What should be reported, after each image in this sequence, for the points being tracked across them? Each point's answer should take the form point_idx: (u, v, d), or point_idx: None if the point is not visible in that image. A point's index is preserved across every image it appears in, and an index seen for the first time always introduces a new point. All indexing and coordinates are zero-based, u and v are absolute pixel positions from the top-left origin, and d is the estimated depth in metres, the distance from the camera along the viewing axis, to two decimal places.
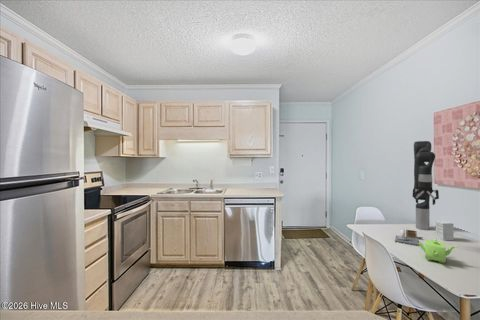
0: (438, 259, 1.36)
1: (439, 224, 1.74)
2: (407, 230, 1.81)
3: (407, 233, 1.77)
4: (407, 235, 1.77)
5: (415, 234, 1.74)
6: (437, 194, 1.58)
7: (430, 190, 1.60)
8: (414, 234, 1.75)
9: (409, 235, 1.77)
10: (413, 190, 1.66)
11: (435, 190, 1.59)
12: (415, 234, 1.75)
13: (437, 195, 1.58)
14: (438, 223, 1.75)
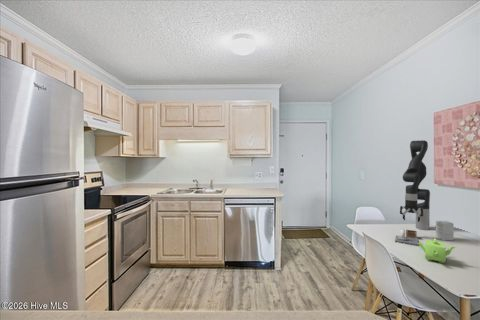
0: (438, 259, 1.36)
1: (439, 224, 1.74)
2: (407, 230, 1.81)
3: (407, 233, 1.77)
4: (407, 235, 1.77)
5: (415, 234, 1.74)
6: (422, 212, 1.73)
7: (415, 208, 1.76)
8: (414, 234, 1.75)
9: (409, 235, 1.77)
10: (400, 207, 1.81)
11: (420, 208, 1.75)
12: (415, 234, 1.75)
13: (422, 213, 1.74)
14: (438, 223, 1.75)
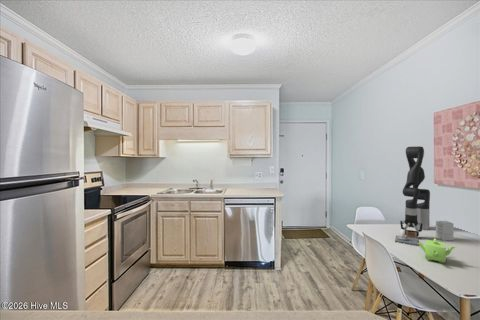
0: (438, 259, 1.36)
1: (439, 224, 1.74)
2: (407, 230, 1.81)
3: (407, 233, 1.77)
4: (407, 235, 1.77)
5: (415, 234, 1.74)
6: (421, 227, 1.74)
7: (415, 222, 1.76)
8: (414, 234, 1.75)
9: (409, 235, 1.77)
10: (400, 222, 1.81)
11: (420, 223, 1.75)
12: (415, 234, 1.75)
13: (421, 228, 1.74)
14: (438, 223, 1.75)
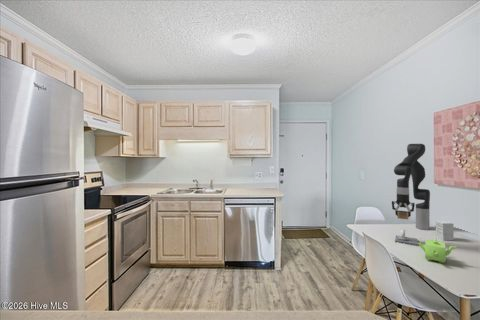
0: (438, 259, 1.36)
1: (439, 224, 1.74)
2: (399, 211, 1.73)
3: (398, 213, 1.69)
4: (398, 216, 1.69)
5: (407, 214, 1.66)
6: (413, 207, 1.66)
7: (407, 202, 1.68)
8: (406, 214, 1.67)
9: (401, 215, 1.69)
10: (392, 203, 1.73)
11: (412, 203, 1.67)
12: (406, 215, 1.67)
13: (413, 208, 1.66)
14: (438, 223, 1.75)
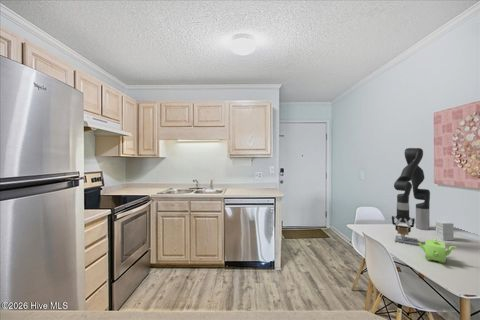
0: (438, 259, 1.36)
1: (439, 224, 1.74)
2: (399, 226, 1.73)
3: (399, 229, 1.69)
4: (398, 231, 1.69)
5: (407, 230, 1.67)
6: (413, 222, 1.66)
7: (407, 218, 1.68)
8: (406, 230, 1.67)
9: (401, 231, 1.69)
10: (392, 218, 1.73)
11: (412, 218, 1.67)
12: (406, 230, 1.67)
13: (413, 223, 1.66)
14: (438, 223, 1.75)
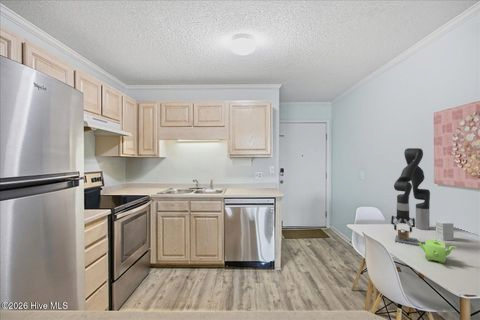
0: (438, 259, 1.36)
1: (439, 224, 1.74)
2: (399, 230, 1.73)
3: (399, 233, 1.69)
4: (399, 235, 1.70)
5: (407, 234, 1.67)
6: (413, 222, 1.66)
7: (407, 218, 1.68)
8: (406, 234, 1.67)
9: (401, 235, 1.69)
10: (392, 217, 1.73)
11: (412, 218, 1.67)
12: (407, 235, 1.67)
13: (413, 223, 1.66)
14: (438, 223, 1.75)
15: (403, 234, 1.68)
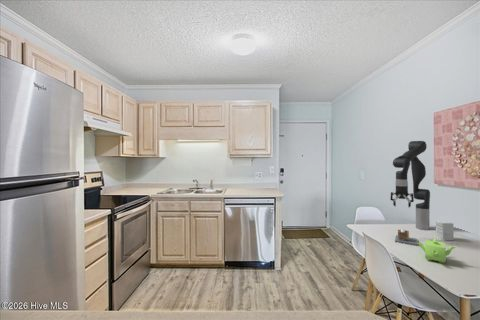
0: (438, 259, 1.36)
1: (439, 224, 1.74)
2: (399, 230, 1.73)
3: (399, 233, 1.69)
4: (399, 235, 1.70)
5: (407, 234, 1.67)
6: (412, 197, 1.71)
7: (406, 194, 1.73)
8: (406, 234, 1.67)
9: (401, 235, 1.69)
10: (391, 194, 1.78)
11: (410, 194, 1.72)
12: (407, 235, 1.67)
13: (412, 198, 1.71)
14: (438, 223, 1.75)
15: (403, 234, 1.68)
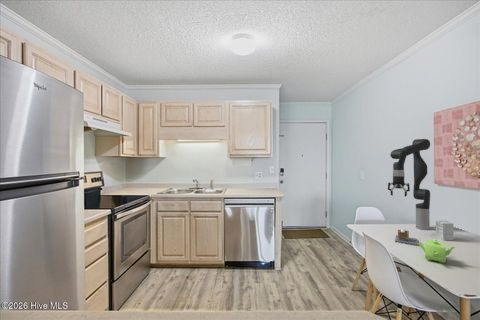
0: (438, 259, 1.36)
1: (439, 224, 1.74)
2: (399, 230, 1.73)
3: (399, 233, 1.69)
4: (399, 235, 1.70)
5: (407, 234, 1.67)
6: (408, 187, 1.80)
7: (402, 183, 1.82)
8: (406, 234, 1.67)
9: (401, 235, 1.69)
10: (388, 184, 1.88)
11: (407, 183, 1.81)
12: (407, 235, 1.67)
13: (408, 188, 1.80)
14: (438, 223, 1.75)
15: (403, 234, 1.68)
